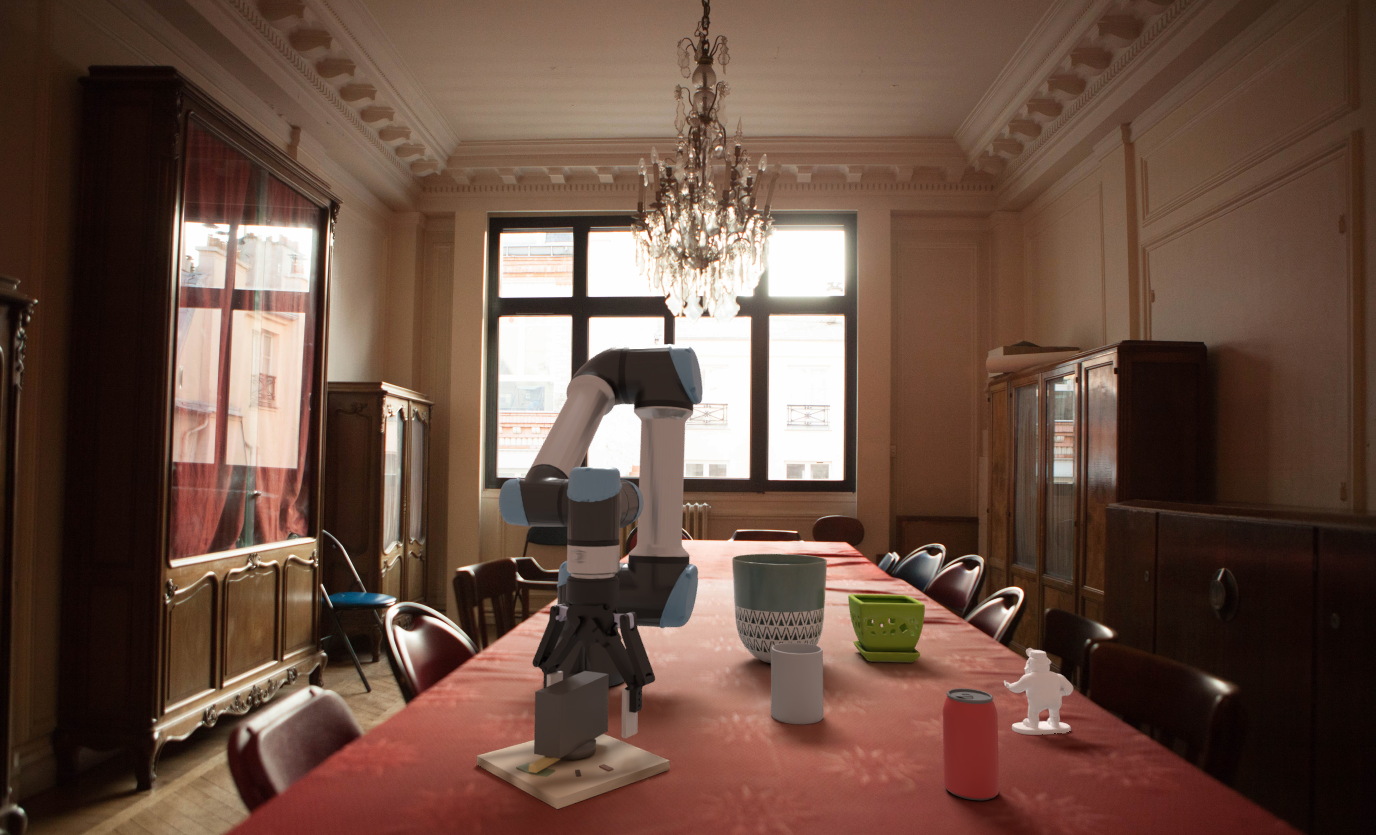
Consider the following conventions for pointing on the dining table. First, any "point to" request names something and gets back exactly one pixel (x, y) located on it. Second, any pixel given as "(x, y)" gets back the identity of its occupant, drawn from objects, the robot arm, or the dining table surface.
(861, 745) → the dining table surface
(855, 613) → the flower pot
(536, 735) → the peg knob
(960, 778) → the beer can
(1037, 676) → the figurine
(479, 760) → the board
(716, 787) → the dining table surface
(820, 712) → the mug
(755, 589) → the planter
